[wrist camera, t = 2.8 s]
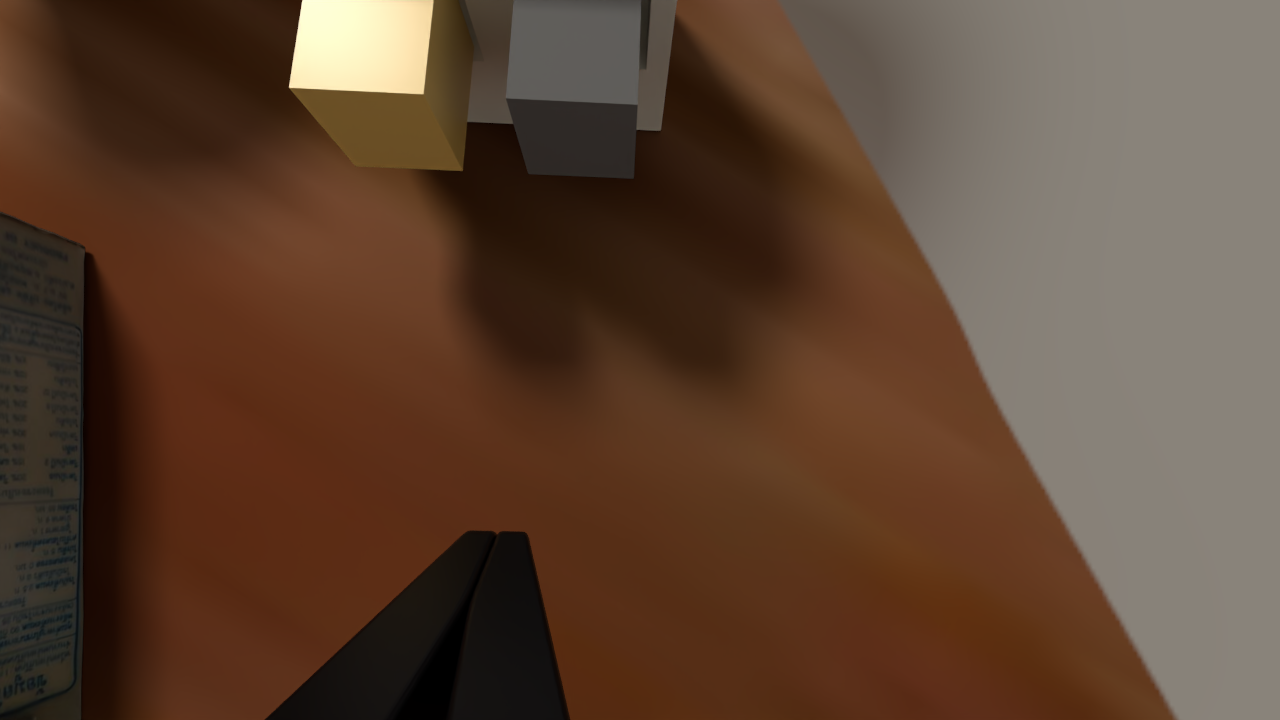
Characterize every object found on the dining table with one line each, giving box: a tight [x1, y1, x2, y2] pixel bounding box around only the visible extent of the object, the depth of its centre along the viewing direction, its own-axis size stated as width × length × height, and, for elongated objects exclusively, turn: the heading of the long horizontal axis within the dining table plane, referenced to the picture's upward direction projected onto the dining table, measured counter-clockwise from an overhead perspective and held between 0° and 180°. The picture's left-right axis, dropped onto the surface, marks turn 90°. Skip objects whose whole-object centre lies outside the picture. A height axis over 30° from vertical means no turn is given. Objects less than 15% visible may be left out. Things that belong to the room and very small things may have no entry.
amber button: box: [289, 0, 474, 171], centre depth 18 cm, size 4×3×4 cm
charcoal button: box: [506, 0, 641, 179], centre depth 18 cm, size 4×3×4 cm
